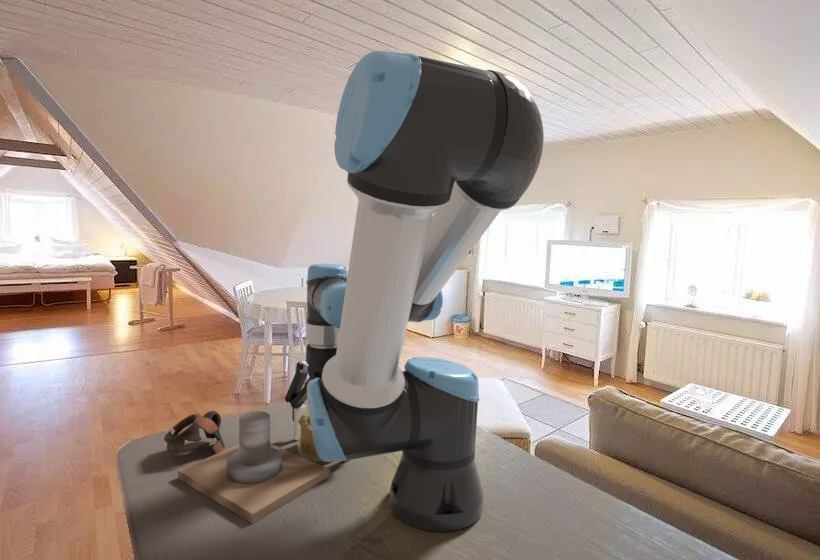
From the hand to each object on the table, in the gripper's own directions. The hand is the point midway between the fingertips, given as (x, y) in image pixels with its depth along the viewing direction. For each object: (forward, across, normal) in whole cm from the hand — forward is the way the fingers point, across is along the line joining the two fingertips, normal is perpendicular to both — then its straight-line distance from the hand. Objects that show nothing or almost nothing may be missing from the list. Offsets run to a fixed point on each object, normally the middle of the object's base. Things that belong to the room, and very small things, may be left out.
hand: (323, 447), depth 91 cm
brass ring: (0, 0, 0) cm, 0 cm away
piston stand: (0, +2, +15) cm, 15 cm away
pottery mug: (0, +18, +15) cm, 24 cm away
